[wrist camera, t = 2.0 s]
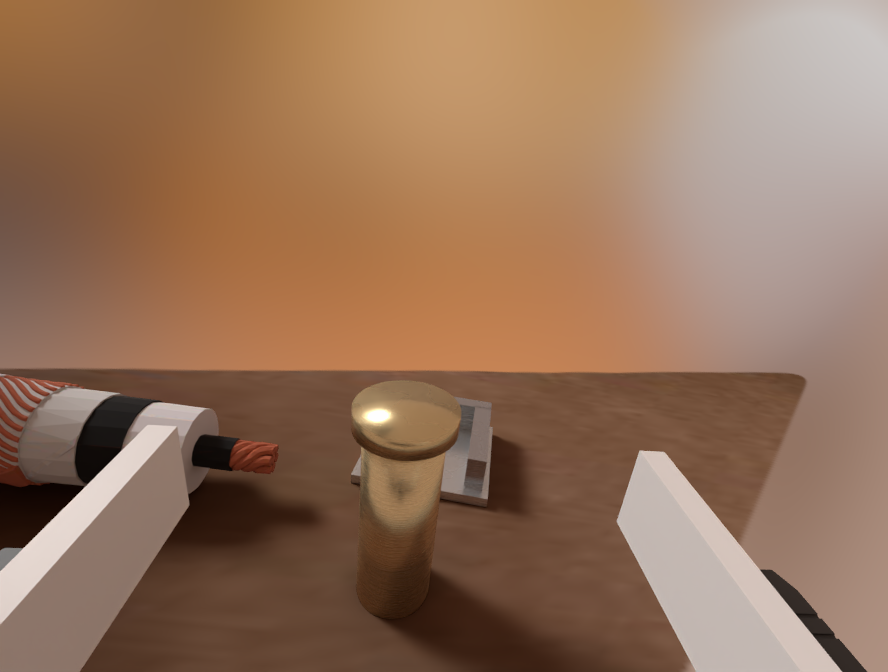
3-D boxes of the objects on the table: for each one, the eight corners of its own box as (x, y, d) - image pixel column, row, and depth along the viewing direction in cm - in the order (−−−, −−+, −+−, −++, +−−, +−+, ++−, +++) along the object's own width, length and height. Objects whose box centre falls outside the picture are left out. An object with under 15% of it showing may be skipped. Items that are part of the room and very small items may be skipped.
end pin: (333, 617, 25) (334, 428, 20) (363, 540, 30) (370, 373, 25) (429, 637, 25) (454, 448, 20) (443, 555, 30) (466, 389, 25)
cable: (270, 535, 34) (232, 531, 25) (-205, 484, 32) (-433, 460, 23) (300, 411, 39) (278, 371, 30) (-114, 357, 36) (-275, 295, 27)
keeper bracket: (350, 482, 35) (351, 446, 34) (383, 415, 45) (385, 385, 43) (486, 507, 34) (492, 471, 33) (491, 433, 44) (496, 403, 42)
